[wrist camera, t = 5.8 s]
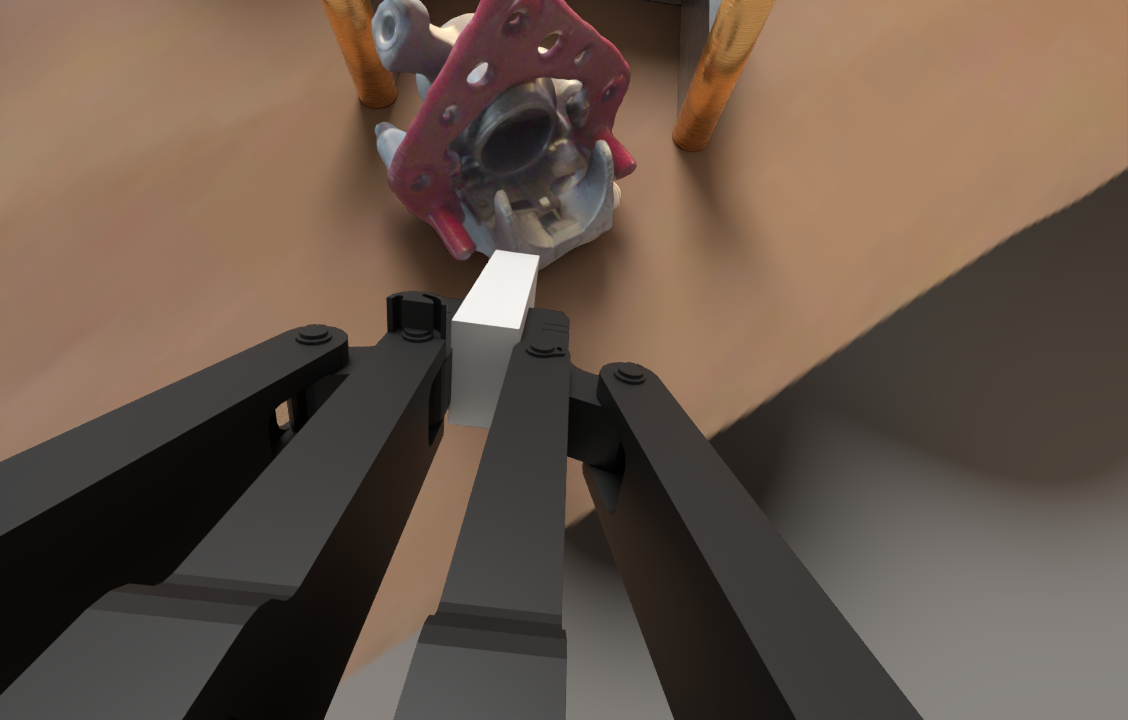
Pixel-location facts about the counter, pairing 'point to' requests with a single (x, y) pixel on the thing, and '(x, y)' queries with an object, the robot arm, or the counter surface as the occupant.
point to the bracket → (708, 3)
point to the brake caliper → (505, 126)
